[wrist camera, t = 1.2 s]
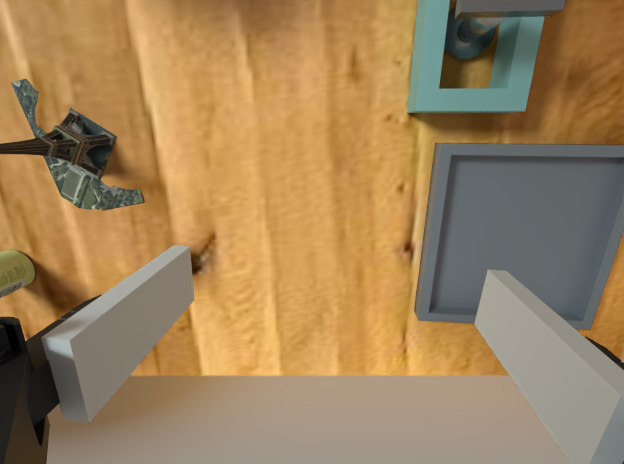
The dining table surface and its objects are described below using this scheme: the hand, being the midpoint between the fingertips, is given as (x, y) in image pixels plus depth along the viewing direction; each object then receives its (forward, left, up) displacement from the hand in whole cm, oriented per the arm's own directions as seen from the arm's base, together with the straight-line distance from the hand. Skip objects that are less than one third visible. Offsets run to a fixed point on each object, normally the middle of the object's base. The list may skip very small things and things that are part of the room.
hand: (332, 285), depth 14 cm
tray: (+4, +19, -20) cm, 28 cm away
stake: (-15, +11, -20) cm, 27 cm away
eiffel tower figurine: (-5, -28, -21) cm, 35 cm away
